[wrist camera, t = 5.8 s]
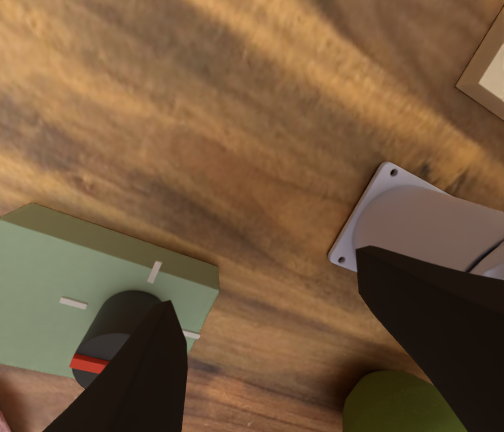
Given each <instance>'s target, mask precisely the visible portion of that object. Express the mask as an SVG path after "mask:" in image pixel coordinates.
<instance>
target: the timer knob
mask: <svg viewBox="0 0 504 432" xmlns="http://www.w3.org/2000/svg"><path fill="white" fill-rule="evenodd" d="M160 302H162V301H161V300H160V299H159V298H157V297H156V296H154V295H152V294H150V293H147V292H143V291H137V290H130V291H124V292H120V293H117V294H115V295H113V296H112V297H110V298H109V299H107V300H106V301H105V302H104V304H103V305H102V306H101V308H100V310H99V312H98V313H97V315H96V317H95V319H94V320H93V322H92V324H91V325H90V327H89V329H88V331H87V332H86V334H85V336H84V338H83V339H82V341H81V343H80V345H79V346H78V348H77V350H76V352H75V354H74V356H73V358H72V360H71V363H70V366H69V367H70V368H72V372H73V375H74V377H75V379H76V381H77V382H78V383H79V384H80V385H81V386H82V387H83V388H84V389H86V388H87V387H88V386H89V385H90V384H91V383H92V382H93V380H94V379H95V378H96V377H97V376H98V375H99V374H100V373H101V371H102V370H103V369H104V368H105V367H106V365H107V364H108V363H109V362H110V360H111V359H112V358H113V357H114V356H115V354H116V353H117V352H118V351H119V350H120V348H121V347H122V346H123V345H124V343H125V342H126V341H127V339H128V338H129V337H130V335H131V334H132V333H133V332H134V330H135V329H136V328H137V326H138V325H139V324H140V322H141V321H142V320H143V318H144V317H145V315H146V314H147V313H148V311H149V310H150V309H151V308H152V306H153V305H154V304H157V303H160Z"/></svg>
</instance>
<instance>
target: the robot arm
mask: <svg viewBox="0 0 504 432" xmlns="http://www.w3.org/2000/svg"><path fill="white" fill-rule="evenodd" d="M393 169H394V173H393V174H392V175H390V172H391V171H392V170H393ZM340 257H343V258H342V259H341V260H339V261H338V259H339V258H340ZM328 259H329V261H330V262H332V263H334V264H336V265H339V266H341V267H344V268H346V269H349V270H351V271H354V272H356V273H357V277H358V289H359V294H360V295H361V297H362V298H363V300H364V301H365V303H366V304H367V306H368V307H369V309H370V310H371V312H372V313H373V314H374V315H375V317H376V318H377V319H378V320H379V321H380V322H381V324H382V325H383V326H384V327H385V328H386V329H387V330H388V332H389V333H390V334H391V335H392V336H393V337H394V338H395V339H396V341H397V342H398V343H399V344H400V345H401V346H402V347H403V348H404V349H405V351H406V352H407V353H408V354H409V355H410V356H411V357H412V358H413V360H414V361H415V362H416V363H417V364H418V365H419V366H420V368H421V369H422V370H423V371H424V373H425V374H426V375H427V376H428V378H429V379H430V380H431V382H432V383H433V384H434V386H435V387H436V388H437V390H438V391H439V392H440V394H441V395H442V396H443V398H444V399H445V400H446V402H447V403H448V404H449V406H450V407H451V409H452V410H453V412H454V413H455V414H456V416H457V417H458V419H459V420H460V421H461V423H462V424H463V426H464V427H465V429H466V430H467V431H468V432H504V212H502V211H499V210H495V209H492V208H489V207H486V206H482V205H479V204H476V203H473V202H469V201H466V200H463V199H460V198H456V197H453V196H451V195H449V194H447V193H446V192H444V191H442V190H440V189H438V188H437V187H435V186H433V185H431V184H429V183H428V182H426V181H424V180H422V179H420V178H418V177H417V176H415V175H413V174H411V173H409V172H408V171H406V170H404V169H402V168H400V167H399V166H397V165H395V164H393V163H391V162H383V163H382V164H381V165H380V166H379V168H378V169H377V171H376V173H375V175H374V176H373V178H372V180H371V181H370V183H369V185H368V187H367V188H366V190H365V192H364V193H363V195H362V197H361V198H360V200H359V202H358V204H357V205H356V207H355V209H354V210H353V212H352V214H351V216H350V217H349V219H348V221H347V222H346V224H345V226H344V228H343V229H342V231H341V233H340V234H339V236H338V238H337V240H336V241H335V243H334V245H333V246H332V248H331V250H330V252H329V253H328ZM187 370H188V363H187V341H186V338H185V336H184V333H183V330H182V328H181V325H180V322H179V320H178V317H177V314H176V312H175V309H174V306H173V304H172V301H171V300H168V301H164V302H160V303H157V304H154V305H153V306H152V308H151V309H150V310H149V311H148V313H147V314H146V315H145V317H144V318H143V320H142V321H141V322H140V324H139V325H138V326H137V328H136V329H135V330H134V332H133V333H132V334H131V335H130V337H129V338H128V339H127V341H126V342H125V343H124V345H123V346H122V347H121V348H120V350H119V351H118V352H117V353H116V354H115V356H114V357H113V358H112V359H111V360H110V362H109V363H108V364H107V365H106V367H105V368H104V369H103V370H102V371H101V373H100V374H99V375H98V376H97V377H96V378H95V379H94V380H93V382H92V383H91V384H90V385H89V386H88V387H87V388H86V389H85V390H84V391H83V392H82V393H81V394H80V395H79V396H78V397H77V399H76V400H75V401H74V402H73V403H72V404H71V405H70V406H69V407H68V408H67V409H66V410H65V411H64V412H63V413H62V414H61V415H59V416H58V417H57V418H56V419H55V420H54V421H53V422H52V423H51V424H50V425H49V426H48V427H47V428H46V429H45V430H43V431H42V432H181V431H182V421H183V411H184V402H185V392H186V381H187Z"/></svg>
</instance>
